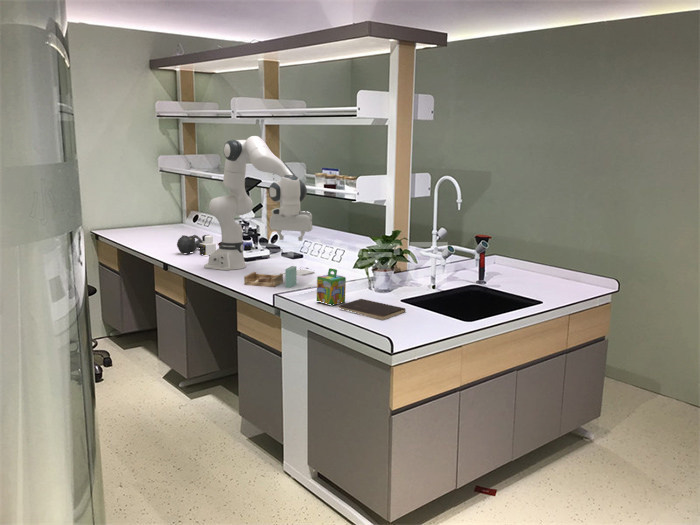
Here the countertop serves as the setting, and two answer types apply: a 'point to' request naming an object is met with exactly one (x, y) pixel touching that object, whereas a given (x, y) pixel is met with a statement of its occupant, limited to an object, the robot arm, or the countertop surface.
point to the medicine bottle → (207, 245)
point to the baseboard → (303, 272)
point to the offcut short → (264, 279)
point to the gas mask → (188, 243)
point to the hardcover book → (372, 309)
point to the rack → (274, 282)
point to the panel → (290, 276)
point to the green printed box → (331, 288)
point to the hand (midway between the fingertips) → (291, 240)
